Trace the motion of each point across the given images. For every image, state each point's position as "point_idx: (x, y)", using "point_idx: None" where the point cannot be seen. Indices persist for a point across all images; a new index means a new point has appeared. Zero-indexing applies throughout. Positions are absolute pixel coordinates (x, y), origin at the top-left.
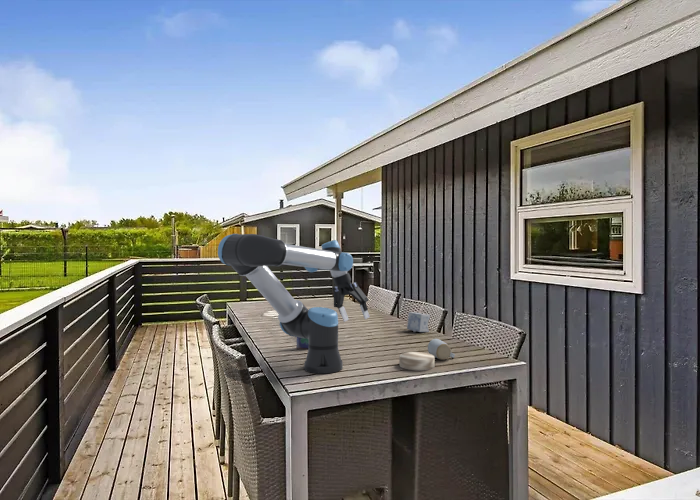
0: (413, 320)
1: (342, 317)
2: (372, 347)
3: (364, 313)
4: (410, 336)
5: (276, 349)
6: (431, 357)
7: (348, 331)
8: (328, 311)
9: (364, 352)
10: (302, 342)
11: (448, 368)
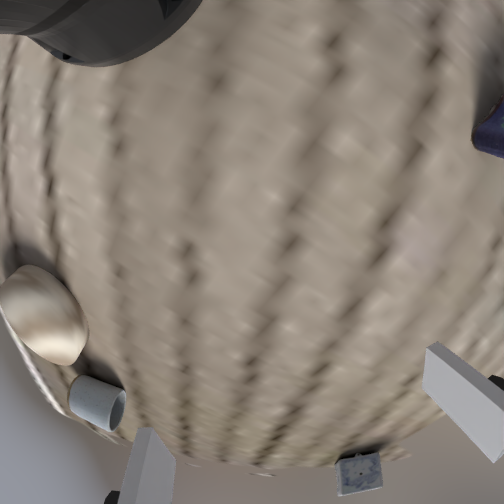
0: (364, 475)
1: (460, 363)
2: (322, 349)
3: (130, 472)
4: (338, 444)
5: None
6: (25, 340)
7: (496, 363)
8: None
9: (273, 288)
10: None
11: None
